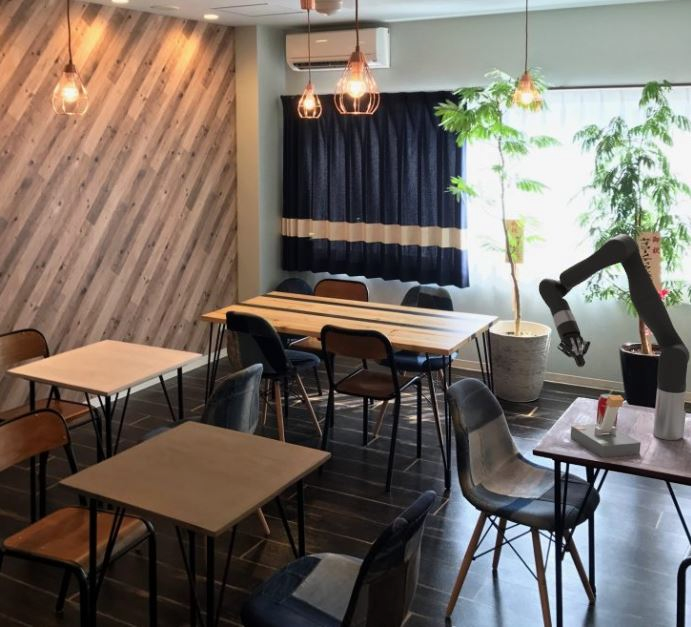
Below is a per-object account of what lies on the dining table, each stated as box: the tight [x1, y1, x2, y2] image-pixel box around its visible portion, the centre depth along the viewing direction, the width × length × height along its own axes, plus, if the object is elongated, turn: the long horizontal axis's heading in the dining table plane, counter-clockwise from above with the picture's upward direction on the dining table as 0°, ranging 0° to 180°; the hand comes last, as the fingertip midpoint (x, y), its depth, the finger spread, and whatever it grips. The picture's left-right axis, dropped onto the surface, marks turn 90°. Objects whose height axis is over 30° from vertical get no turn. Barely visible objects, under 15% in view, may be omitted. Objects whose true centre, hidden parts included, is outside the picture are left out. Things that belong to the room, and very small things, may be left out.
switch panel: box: [570, 423, 642, 458], centre depth 274 cm, size 14×20×6 cm
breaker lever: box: [600, 394, 625, 433], centre depth 271 cm, size 4×2×15 cm, turn 105°
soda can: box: [596, 393, 619, 428], centre depth 292 cm, size 7×7×12 cm
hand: (581, 365), depth 286 cm, fingers closed
